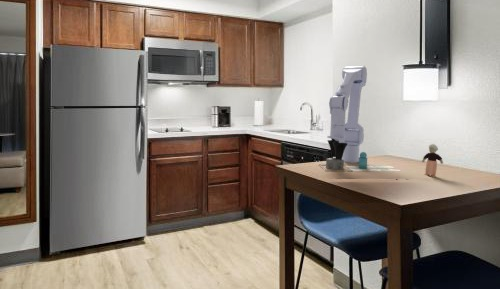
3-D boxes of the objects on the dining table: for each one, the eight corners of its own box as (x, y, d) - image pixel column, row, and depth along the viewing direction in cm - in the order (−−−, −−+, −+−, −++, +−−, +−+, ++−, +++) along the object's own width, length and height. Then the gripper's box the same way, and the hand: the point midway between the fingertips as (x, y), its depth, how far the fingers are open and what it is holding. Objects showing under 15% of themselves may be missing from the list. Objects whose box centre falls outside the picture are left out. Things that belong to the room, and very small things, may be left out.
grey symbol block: (325, 170, 162) (326, 158, 162) (334, 169, 165) (334, 157, 165) (334, 172, 158) (335, 160, 158) (343, 171, 161) (343, 159, 161)
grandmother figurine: (420, 176, 152) (422, 143, 151) (421, 174, 156) (423, 142, 154) (442, 178, 149) (444, 145, 147) (442, 176, 152) (444, 144, 150)
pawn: (357, 167, 163) (358, 151, 162) (365, 167, 163) (366, 151, 162) (359, 168, 160) (360, 152, 159) (368, 168, 160) (368, 152, 159)
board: (318, 167, 168) (318, 164, 168) (389, 168, 169) (389, 164, 169) (325, 174, 154) (325, 170, 154) (402, 174, 155) (403, 171, 155)
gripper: (324, 124, 166) (323, 155, 168) (332, 126, 152) (330, 161, 153) (340, 124, 166) (339, 155, 168) (350, 126, 152) (348, 161, 153)
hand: (336, 158), depth 161 cm, fingers open, 7 cm apart
